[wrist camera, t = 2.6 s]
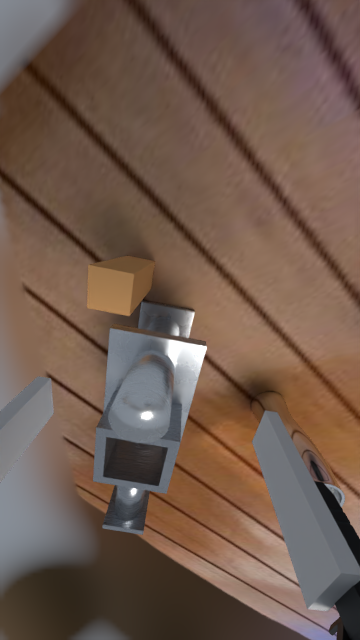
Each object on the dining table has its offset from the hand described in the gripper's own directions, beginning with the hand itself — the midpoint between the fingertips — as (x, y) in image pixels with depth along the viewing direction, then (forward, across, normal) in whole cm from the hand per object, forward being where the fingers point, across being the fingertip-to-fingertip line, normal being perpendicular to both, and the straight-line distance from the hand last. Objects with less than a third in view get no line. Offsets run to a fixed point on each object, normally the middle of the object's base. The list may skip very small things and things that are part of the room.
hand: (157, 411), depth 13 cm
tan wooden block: (+20, -6, +5) cm, 22 cm away
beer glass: (+20, +20, -15) cm, 32 cm away
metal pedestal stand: (+20, -1, -8) cm, 22 cm away
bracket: (+9, -2, -16) cm, 18 cm away
